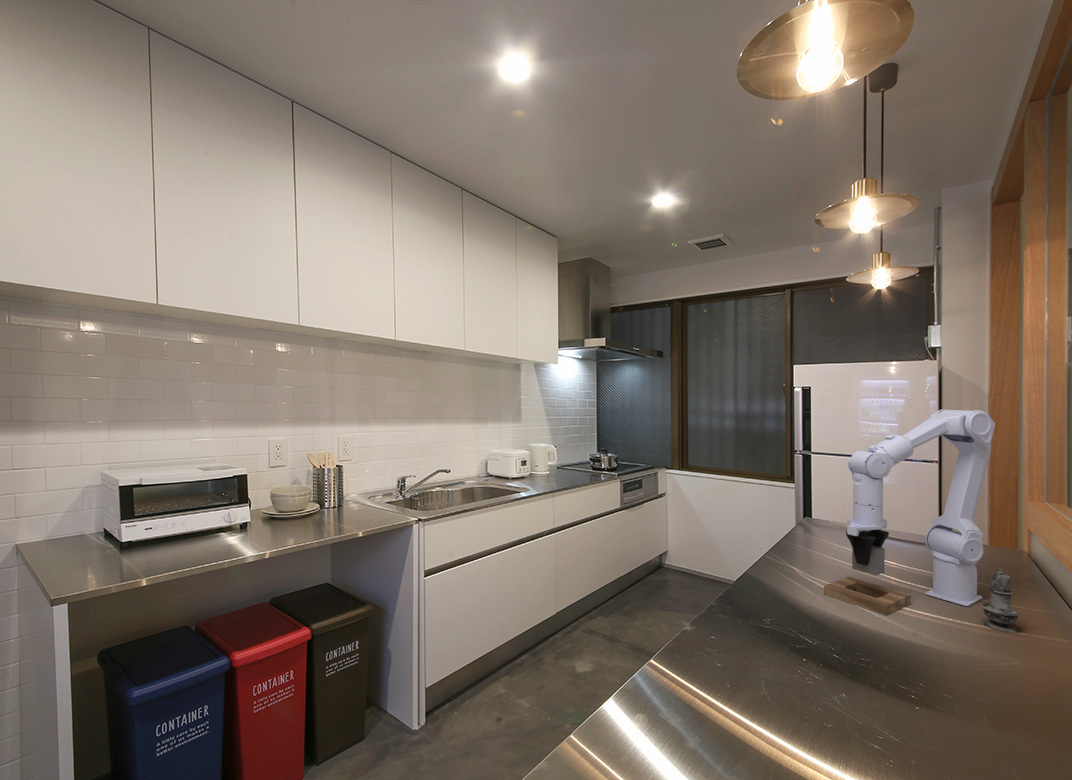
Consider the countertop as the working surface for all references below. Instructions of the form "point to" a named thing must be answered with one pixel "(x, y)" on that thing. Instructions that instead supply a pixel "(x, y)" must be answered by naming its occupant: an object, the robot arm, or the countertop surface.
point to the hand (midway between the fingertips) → (866, 562)
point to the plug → (872, 561)
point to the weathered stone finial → (1000, 604)
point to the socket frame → (882, 603)
